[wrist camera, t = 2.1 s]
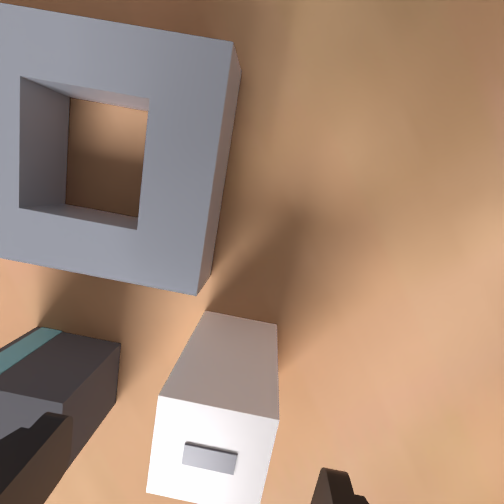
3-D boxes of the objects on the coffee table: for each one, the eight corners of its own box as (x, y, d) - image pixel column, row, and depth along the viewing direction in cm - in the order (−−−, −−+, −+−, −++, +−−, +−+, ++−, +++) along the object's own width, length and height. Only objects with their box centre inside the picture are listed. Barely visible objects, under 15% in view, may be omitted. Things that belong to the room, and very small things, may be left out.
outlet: (241, 71, 14) (233, 40, 11) (210, 276, 16) (195, 297, 13) (-48, 22, 15) (-135, -22, 12) (-41, 228, 17) (-112, 237, 14)
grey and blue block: (121, 342, 18) (61, 404, 13) (115, 403, 19) (57, 483, 14) (37, 325, 18) (-55, 380, 13) (35, 387, 19) (-51, 460, 14)
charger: (277, 324, 17) (279, 422, 10) (263, 388, 18) (256, 518, 11) (205, 310, 17) (157, 397, 10) (195, 374, 18) (145, 494, 11)
